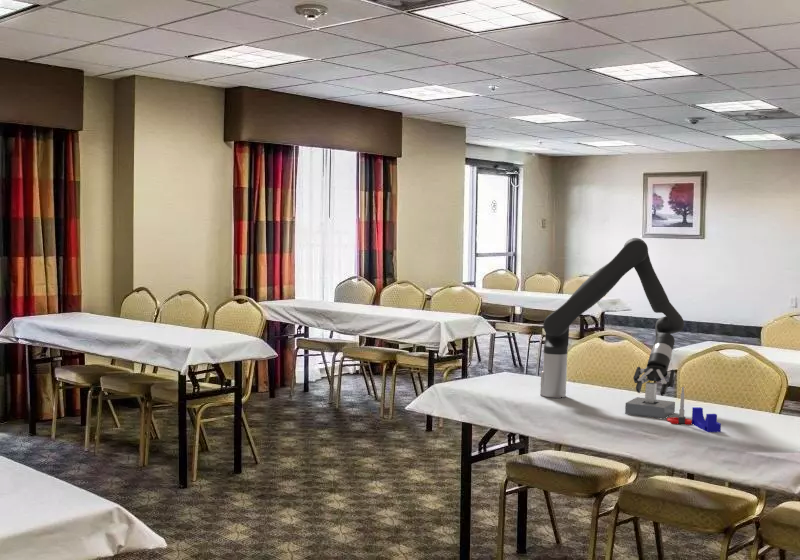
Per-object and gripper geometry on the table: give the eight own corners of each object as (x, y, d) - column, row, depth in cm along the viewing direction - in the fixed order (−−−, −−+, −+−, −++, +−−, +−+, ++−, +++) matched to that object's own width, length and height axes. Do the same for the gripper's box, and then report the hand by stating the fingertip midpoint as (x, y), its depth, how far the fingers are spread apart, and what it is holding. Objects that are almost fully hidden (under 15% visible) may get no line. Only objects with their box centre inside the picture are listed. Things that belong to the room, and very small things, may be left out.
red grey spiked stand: (665, 419, 309) (669, 424, 300) (666, 383, 309) (670, 386, 300) (689, 421, 308) (694, 425, 299) (691, 384, 308) (695, 388, 298)
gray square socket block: (625, 413, 315) (625, 402, 315) (636, 407, 327) (637, 397, 327) (664, 419, 308) (664, 407, 308) (674, 412, 320) (675, 401, 319)
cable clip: (720, 432, 289) (721, 414, 289) (707, 432, 289) (708, 414, 289) (704, 424, 301) (704, 407, 301) (691, 424, 301) (692, 407, 301)
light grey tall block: (644, 413, 317) (645, 383, 316) (646, 411, 320) (647, 382, 319) (653, 414, 315) (654, 384, 315) (655, 413, 318) (656, 383, 318)
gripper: (639, 350, 326) (628, 384, 317) (677, 353, 319) (667, 389, 310) (642, 362, 331) (632, 396, 322) (680, 366, 324) (671, 401, 314)
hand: (649, 392), depth 316 cm, fingers open, 8 cm apart
